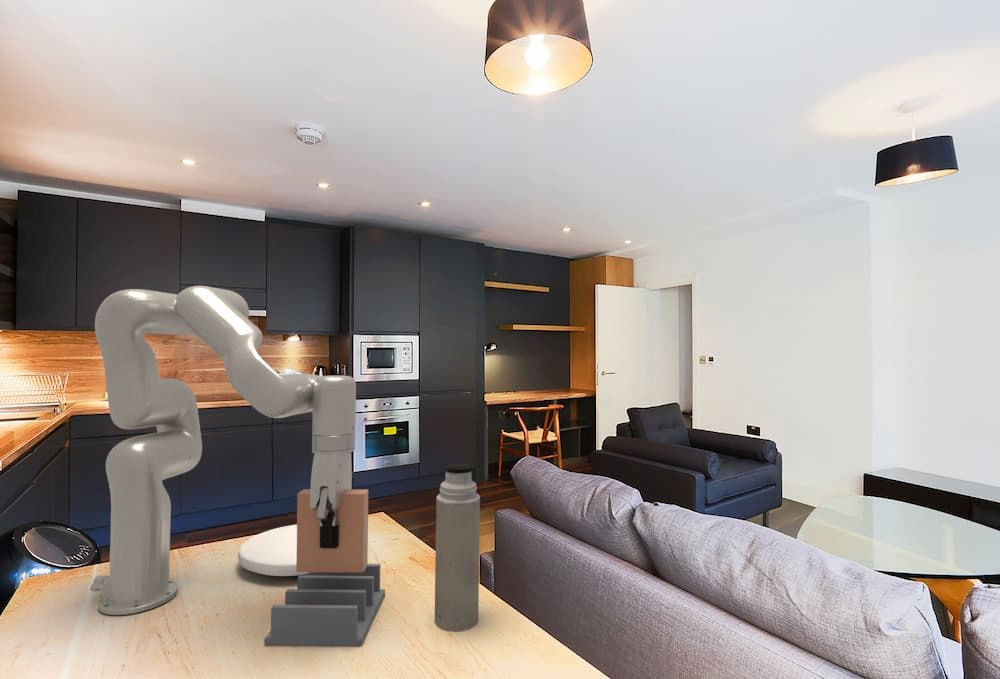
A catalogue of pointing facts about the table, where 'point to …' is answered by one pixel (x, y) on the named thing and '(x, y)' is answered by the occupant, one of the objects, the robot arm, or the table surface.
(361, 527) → the tile
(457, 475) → the thermos bottle
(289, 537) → the plate
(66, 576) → the table surface
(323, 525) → the robot arm
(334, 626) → the dish rack
